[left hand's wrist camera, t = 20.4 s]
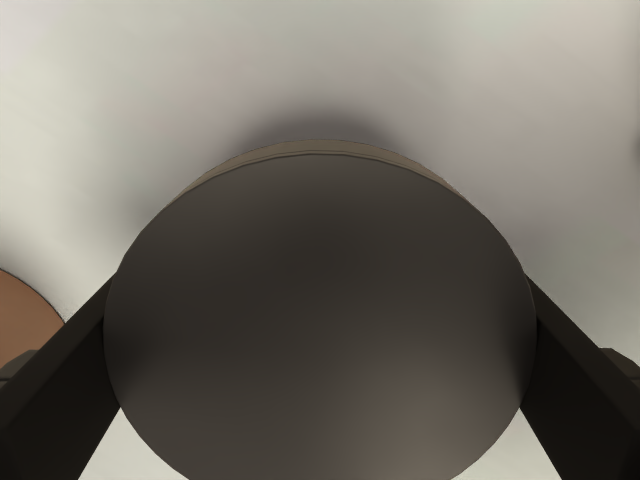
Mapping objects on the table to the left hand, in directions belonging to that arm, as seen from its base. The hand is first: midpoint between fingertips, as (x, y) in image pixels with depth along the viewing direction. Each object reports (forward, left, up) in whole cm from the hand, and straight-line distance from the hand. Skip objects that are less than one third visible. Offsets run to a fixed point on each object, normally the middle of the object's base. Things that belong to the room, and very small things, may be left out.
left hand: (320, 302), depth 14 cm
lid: (0, 0, +3) cm, 3 cm away
